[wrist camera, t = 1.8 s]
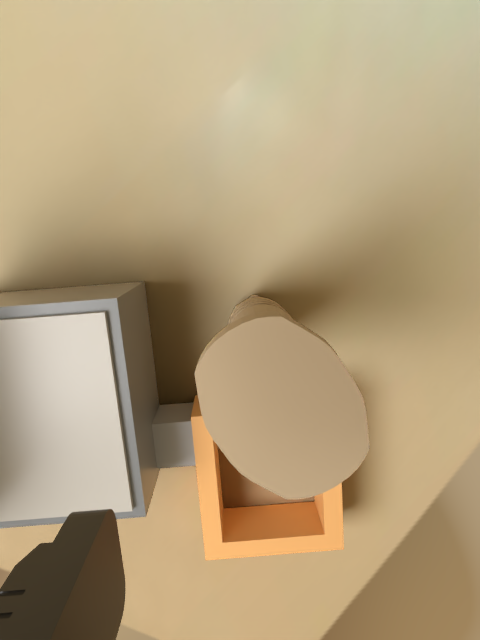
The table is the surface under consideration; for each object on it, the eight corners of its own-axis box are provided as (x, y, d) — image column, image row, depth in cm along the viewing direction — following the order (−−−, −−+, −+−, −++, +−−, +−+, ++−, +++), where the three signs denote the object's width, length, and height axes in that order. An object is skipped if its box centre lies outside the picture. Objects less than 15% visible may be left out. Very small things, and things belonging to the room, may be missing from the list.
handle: (260, 256, 28) (293, 287, 13) (313, 337, 29) (398, 448, 14) (198, 298, 28) (163, 373, 14) (252, 376, 29) (275, 522, 15)
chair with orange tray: (-24, 293, 28) (-399, 389, 11) (322, 267, 28) (458, 323, 11) (25, 539, 32) (-202, 883, 15) (331, 514, 32) (443, 829, 15)
